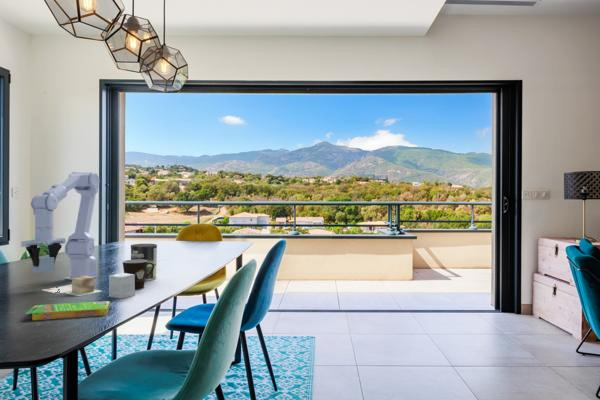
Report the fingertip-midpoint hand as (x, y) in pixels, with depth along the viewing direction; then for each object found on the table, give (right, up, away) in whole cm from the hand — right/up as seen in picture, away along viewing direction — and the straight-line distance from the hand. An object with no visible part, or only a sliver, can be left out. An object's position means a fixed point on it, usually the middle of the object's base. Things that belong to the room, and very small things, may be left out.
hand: (44, 265), depth 152 cm
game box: (+26, -10, -30) cm, 40 cm away
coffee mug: (+32, -9, +5) cm, 34 cm away
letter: (+7, -9, +2) cm, 12 cm away
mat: (+16, -9, -4) cm, 19 cm away
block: (+16, -9, -4) cm, 19 cm away
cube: (0, -2, 0) cm, 2 cm away
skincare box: (+32, -10, -8) cm, 34 cm away
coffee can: (+28, -9, +22) cm, 37 cm away
